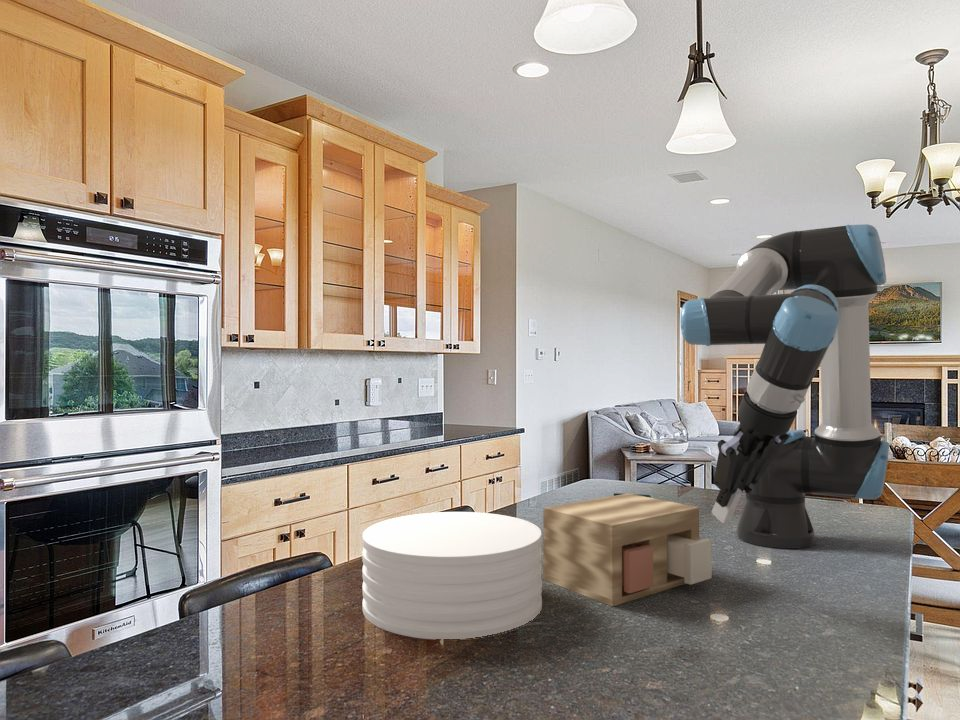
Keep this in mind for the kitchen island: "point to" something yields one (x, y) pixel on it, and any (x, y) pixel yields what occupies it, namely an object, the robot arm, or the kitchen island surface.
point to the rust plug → (637, 568)
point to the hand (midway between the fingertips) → (720, 516)
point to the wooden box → (611, 543)
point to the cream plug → (689, 558)
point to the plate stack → (451, 574)
